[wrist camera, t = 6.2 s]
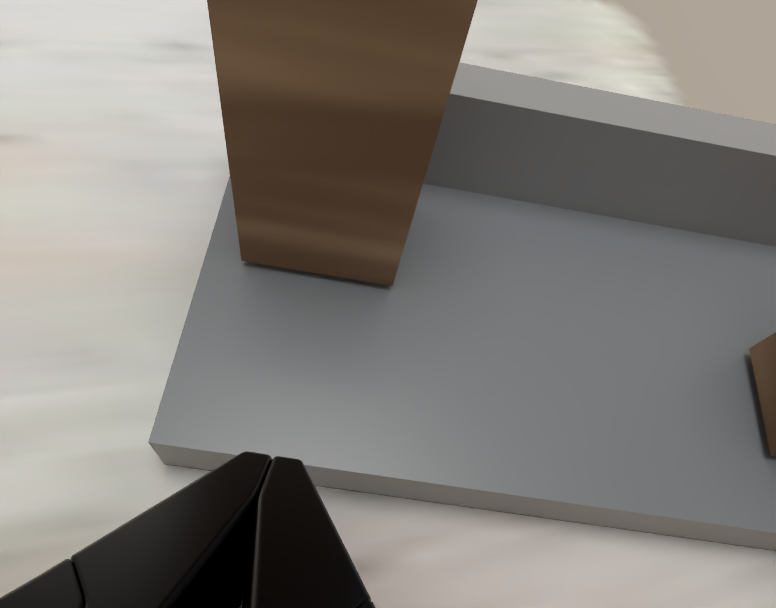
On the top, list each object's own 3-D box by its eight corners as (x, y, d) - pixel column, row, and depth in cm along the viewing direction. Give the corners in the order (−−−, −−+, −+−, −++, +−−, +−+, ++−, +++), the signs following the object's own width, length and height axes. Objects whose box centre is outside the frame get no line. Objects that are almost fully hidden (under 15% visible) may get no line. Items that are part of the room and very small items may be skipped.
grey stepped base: (896, 567, 17) (1138, 541, 12) (164, 463, 15) (107, 387, 11) (812, 264, 22) (960, 160, 17) (250, 164, 20) (238, 19, 15)
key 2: (392, 285, 16) (582, -359, 6) (241, 260, 16) (146, -467, 5) (403, 197, 18) (570, -445, 7) (265, 172, 17) (226, -535, 7)
